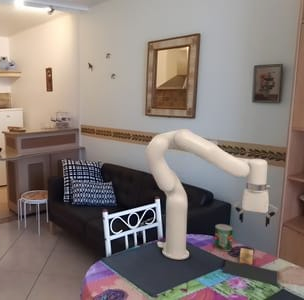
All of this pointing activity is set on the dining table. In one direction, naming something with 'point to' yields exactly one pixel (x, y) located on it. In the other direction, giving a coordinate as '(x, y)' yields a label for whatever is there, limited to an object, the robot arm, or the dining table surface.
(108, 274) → the dining table surface
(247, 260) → the block
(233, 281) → the dining table surface
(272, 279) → the mat
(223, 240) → the canned tomato
